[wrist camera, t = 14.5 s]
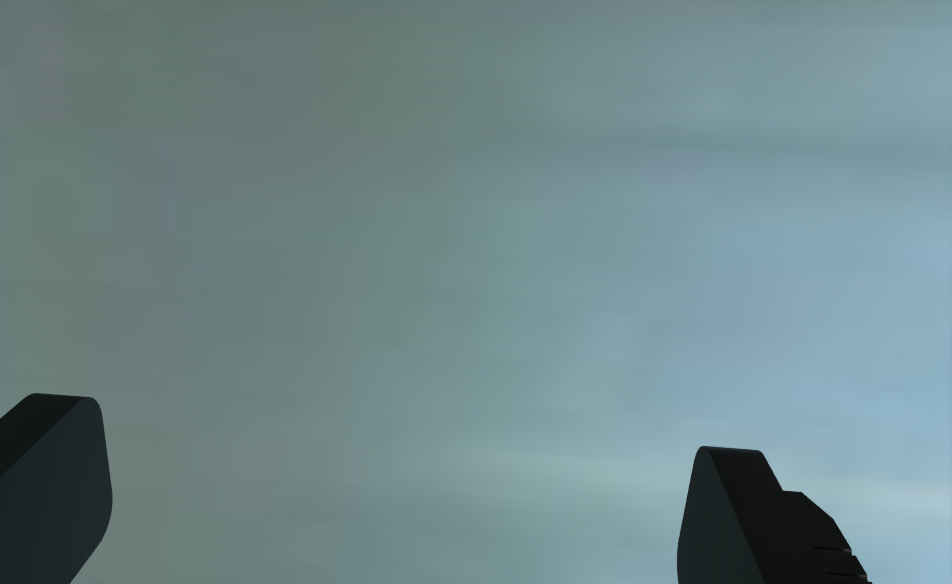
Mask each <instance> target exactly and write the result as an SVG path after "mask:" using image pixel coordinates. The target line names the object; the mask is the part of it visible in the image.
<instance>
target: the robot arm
mask: <svg viewBox="0 0 952 584" xmlns="http://www.w3.org/2000/svg"><path fill="white" fill-rule="evenodd" d="M111 511H112V487H111V480H110V472H109V464H108V456H107V449H106V441H105V433H104V425H103V418H102V412H101V409H100V406H99V404H98V402H97V401H96V400H95V399H93V398H91V397H80V396H67V395H54V394H41V393H33V394H30V395H28V396H27V397H25V398H24V399H23V400H22V401H20V402H19V403H18V404H17V405H16V406H15V407H13V408H12V409H11V410H10V411H9V412H7V413H6V414H5V415H4V416H3V417H2V418H0V584H70V583H71V581H72V580H73V579H74V577H75V576H76V575H77V573H78V572H79V571H80V569H81V568H82V567H83V565H84V564H85V562H86V561H87V560H88V558H89V557H90V556H91V554H92V553H93V552H94V550H95V549H96V548H97V546H98V545H99V543H100V542H101V540H102V538H103V536H104V534H105V532H106V530H107V527H108V524H109V520H110V516H111ZM851 551H852V549H851V548H850V546H849V544H848V543H847V541H846V539H845V538H844V536H843V534H842V533H841V531H840V529H839V528H838V526H837V524H836V523H835V521H834V519H833V518H831V517H830V516H829V515H828V514H827V513H825V512H824V511H823V510H822V509H821V508H820V507H818V506H817V505H816V504H815V503H814V502H813V501H811V500H810V499H809V498H808V497H807V496H805V495H804V494H803V493H802V492H794V491H783V490H782V488H781V486H780V484H779V482H778V481H777V479H776V477H775V475H774V473H773V471H772V469H771V468H770V466H769V464H768V462H767V460H766V458H765V457H764V455H763V453H762V452H760V451H758V450H749V449H736V448H723V447H710V446H701V447H700V448H699V449H698V451H697V453H696V456H695V460H694V464H693V469H692V474H691V479H690V484H689V490H688V495H687V500H686V505H685V510H684V515H683V520H682V525H681V531H680V536H679V541H678V550H677V574H678V583H679V584H872V582H868V581H867V574H866V572H865V571H864V569H863V567H862V566H861V564H860V562H859V561H858V559H857V557H856V556H853V555H852V553H851Z"/></svg>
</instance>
